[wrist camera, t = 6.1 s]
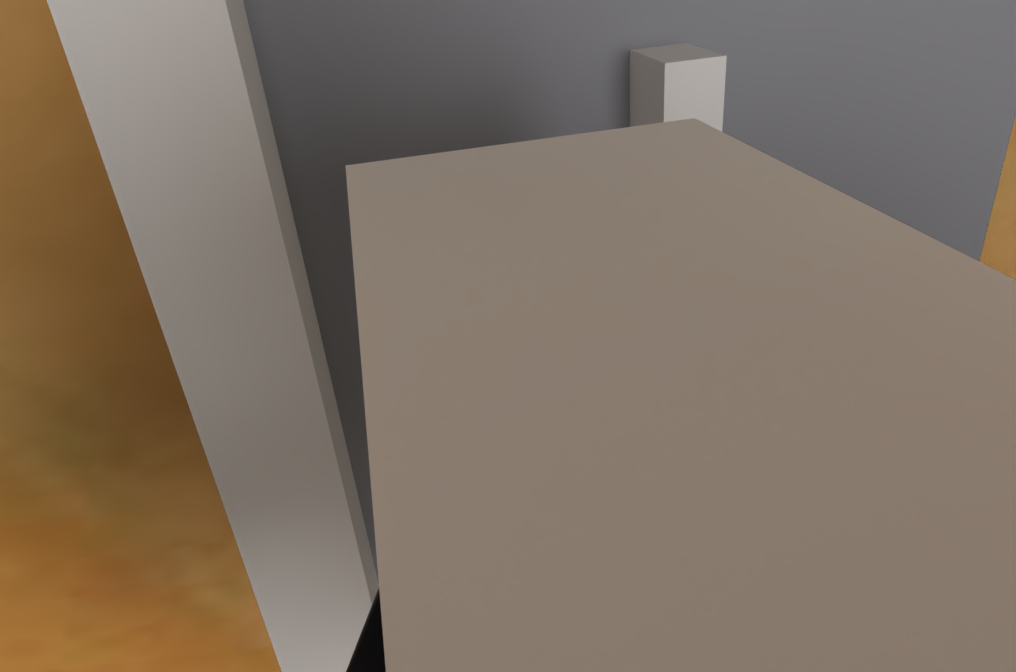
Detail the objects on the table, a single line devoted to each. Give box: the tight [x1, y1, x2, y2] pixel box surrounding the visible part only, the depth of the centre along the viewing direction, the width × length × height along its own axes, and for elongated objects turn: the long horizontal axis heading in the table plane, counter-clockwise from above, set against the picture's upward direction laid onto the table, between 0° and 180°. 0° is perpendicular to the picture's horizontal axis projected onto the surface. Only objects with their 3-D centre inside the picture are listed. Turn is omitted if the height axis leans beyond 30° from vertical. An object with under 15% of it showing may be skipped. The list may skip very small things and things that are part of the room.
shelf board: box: [47, 0, 1016, 672], centre depth 13 cm, size 24×16×4 cm, turn 5°
